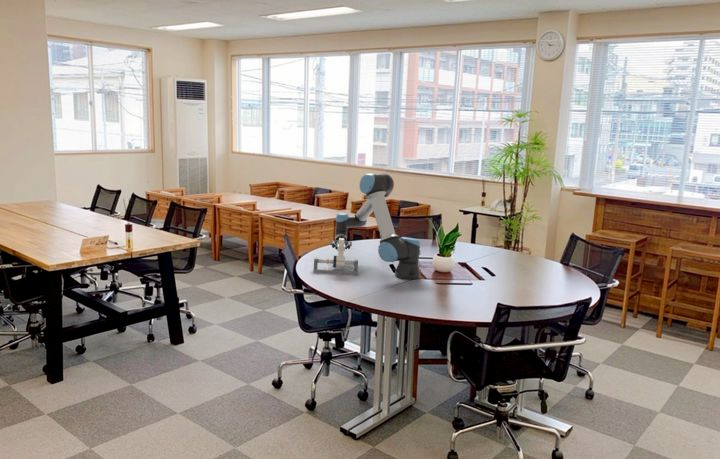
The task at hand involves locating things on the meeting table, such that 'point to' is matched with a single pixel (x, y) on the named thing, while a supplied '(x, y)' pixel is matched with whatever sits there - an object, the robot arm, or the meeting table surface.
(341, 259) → the sleeve
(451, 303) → the meeting table surface
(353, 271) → the pipe stand
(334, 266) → the ring
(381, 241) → the robot arm
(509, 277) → the meeting table surface
